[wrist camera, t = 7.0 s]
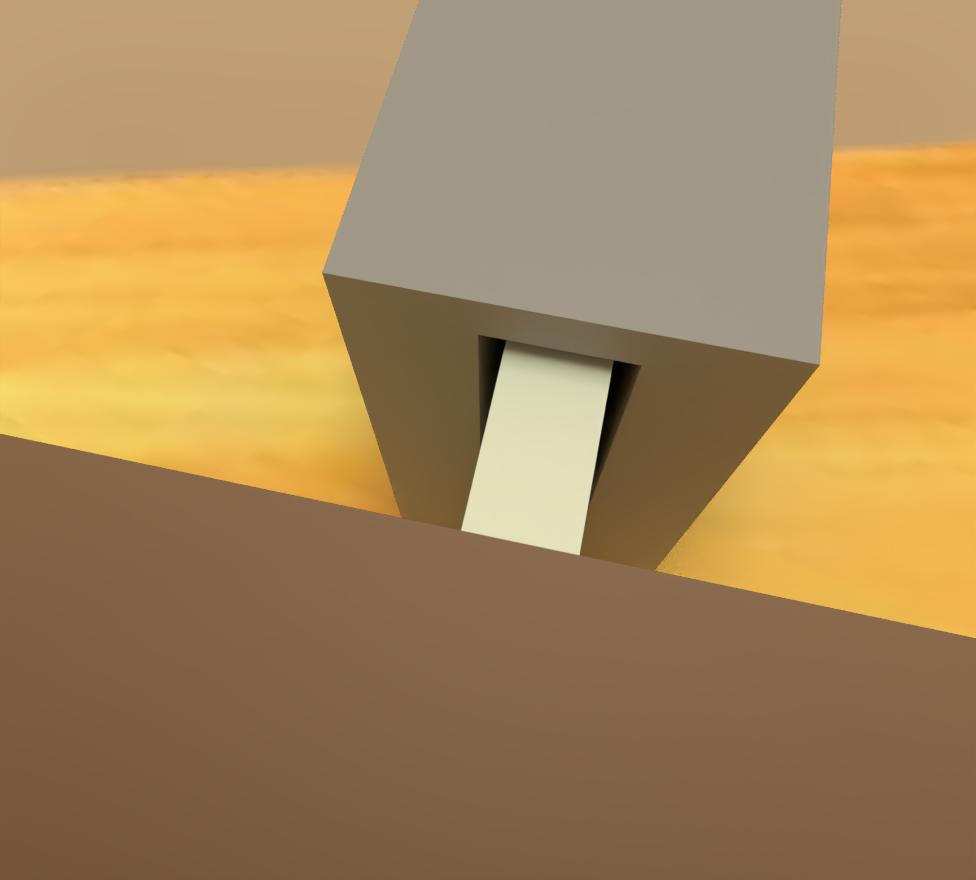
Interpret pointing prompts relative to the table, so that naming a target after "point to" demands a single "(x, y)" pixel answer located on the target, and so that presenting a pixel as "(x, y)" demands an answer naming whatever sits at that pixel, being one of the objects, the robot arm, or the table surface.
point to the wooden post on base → (439, 702)
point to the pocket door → (539, 448)
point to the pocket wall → (593, 239)
